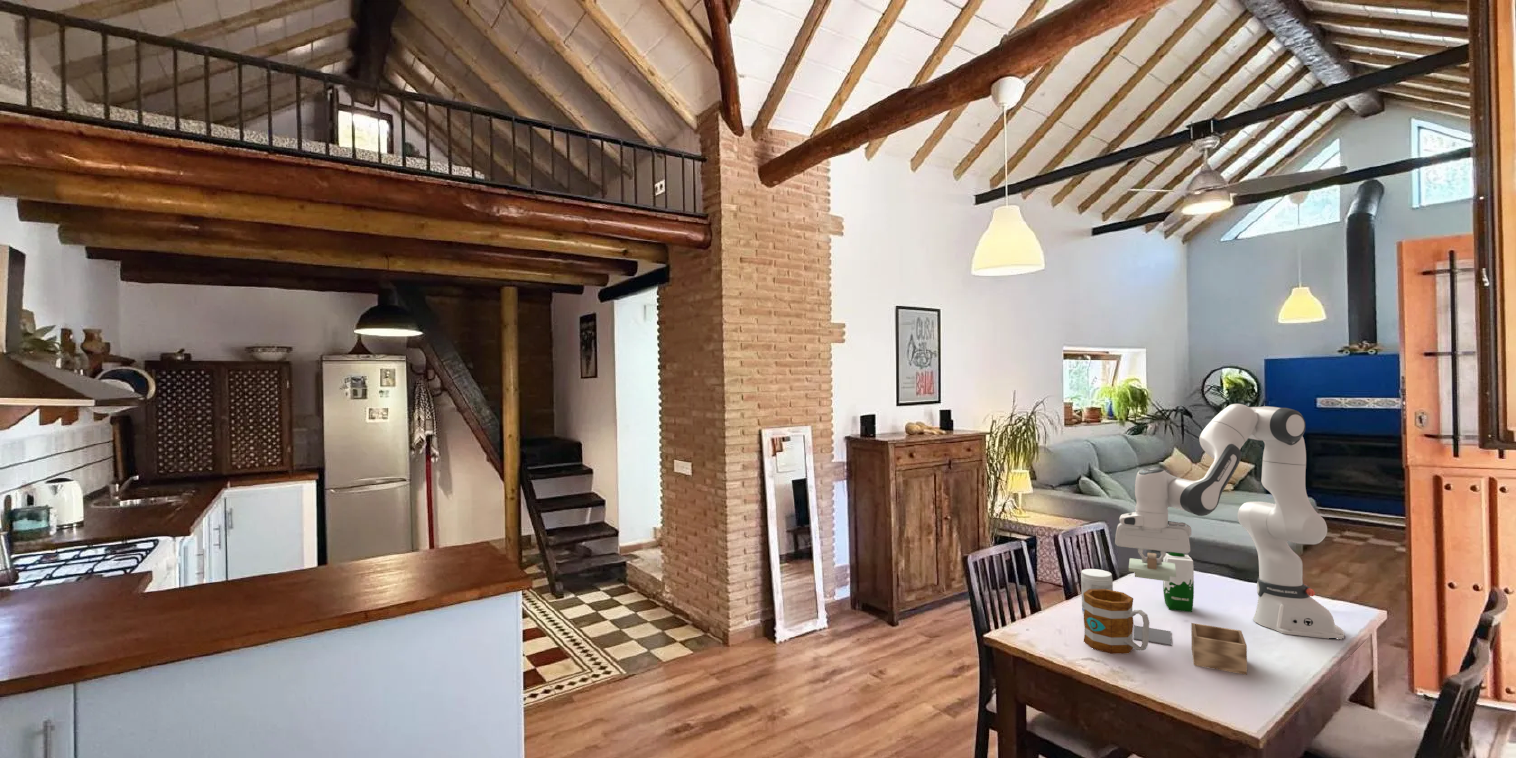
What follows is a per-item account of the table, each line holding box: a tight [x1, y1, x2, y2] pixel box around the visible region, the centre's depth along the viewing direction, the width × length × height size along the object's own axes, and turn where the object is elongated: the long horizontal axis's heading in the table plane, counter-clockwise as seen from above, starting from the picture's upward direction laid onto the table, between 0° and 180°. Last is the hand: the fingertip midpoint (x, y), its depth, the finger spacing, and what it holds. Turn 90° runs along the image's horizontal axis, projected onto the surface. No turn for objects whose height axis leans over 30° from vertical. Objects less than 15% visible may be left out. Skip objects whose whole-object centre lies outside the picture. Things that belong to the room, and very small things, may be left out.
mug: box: [1083, 589, 1150, 655], centre depth 195 cm, size 20×14×15 cm
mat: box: [1132, 624, 1173, 647], centre depth 204 cm, size 10×12×1 cm
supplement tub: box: [1080, 568, 1114, 615], centre depth 222 cm, size 10×10×15 cm
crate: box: [1190, 622, 1248, 676], centre depth 185 cm, size 12×12×8 cm
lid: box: [1128, 552, 1176, 582], centre depth 204 cm, size 12×12×6 cm
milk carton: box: [1162, 552, 1195, 613], centre depth 228 cm, size 9×9×20 cm
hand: (1151, 563), depth 204 cm, fingers closed on lid, 2 cm apart
